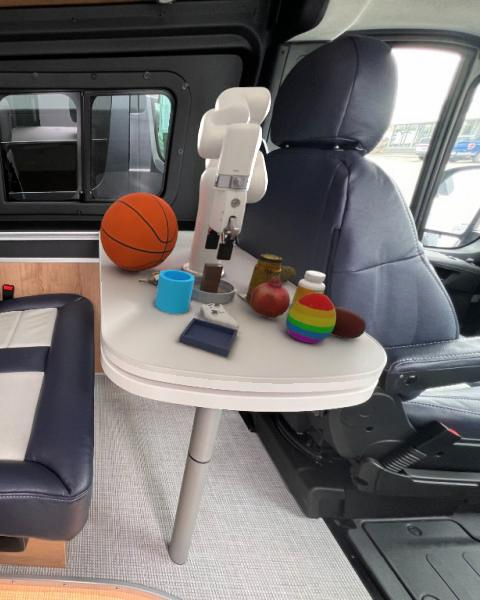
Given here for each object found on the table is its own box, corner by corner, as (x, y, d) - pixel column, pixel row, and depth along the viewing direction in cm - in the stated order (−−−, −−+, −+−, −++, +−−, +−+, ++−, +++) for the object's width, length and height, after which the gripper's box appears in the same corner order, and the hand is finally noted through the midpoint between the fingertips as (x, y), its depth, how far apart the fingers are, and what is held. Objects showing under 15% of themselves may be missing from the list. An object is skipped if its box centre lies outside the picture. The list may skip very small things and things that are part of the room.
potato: (362, 319, 70) (347, 343, 70) (318, 300, 73) (304, 323, 73) (380, 319, 63) (362, 346, 63) (330, 298, 66) (314, 323, 67)
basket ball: (78, 249, 108) (95, 179, 94) (131, 244, 120) (154, 181, 106) (120, 291, 93) (147, 215, 79) (175, 280, 106) (208, 212, 92)
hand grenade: (294, 283, 97) (262, 289, 96) (283, 270, 100) (252, 277, 100) (301, 271, 93) (268, 278, 93) (289, 259, 97) (257, 265, 96)
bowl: (190, 281, 96) (192, 272, 94) (237, 292, 89) (240, 282, 88) (176, 296, 86) (178, 286, 84) (227, 309, 79) (230, 298, 78)
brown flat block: (199, 290, 88) (204, 263, 85) (225, 292, 88) (231, 264, 85) (201, 294, 86) (207, 266, 83) (228, 295, 86) (235, 267, 83)
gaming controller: (243, 317, 67) (209, 314, 67) (239, 333, 68) (205, 330, 69) (228, 298, 76) (198, 295, 77) (224, 313, 78) (195, 310, 78)
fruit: (283, 313, 78) (296, 275, 74) (284, 328, 72) (298, 286, 67) (247, 306, 81) (257, 268, 77) (245, 319, 75) (256, 279, 71)
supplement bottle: (307, 316, 77) (321, 278, 73) (285, 307, 81) (297, 271, 77) (320, 312, 79) (334, 275, 75) (298, 303, 84) (310, 268, 80)
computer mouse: (136, 278, 96) (137, 265, 95) (185, 280, 96) (188, 267, 94) (139, 288, 90) (141, 274, 88) (192, 290, 89) (195, 276, 88)
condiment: (264, 294, 88) (276, 252, 83) (282, 308, 81) (297, 263, 75) (238, 294, 88) (249, 252, 83) (254, 308, 80) (267, 262, 75)
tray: (192, 324, 72) (193, 317, 71) (236, 337, 67) (237, 330, 67) (179, 342, 65) (180, 334, 64) (227, 357, 61) (229, 350, 60)
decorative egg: (333, 339, 67) (352, 296, 63) (317, 351, 63) (336, 306, 59) (292, 323, 73) (306, 282, 69) (274, 333, 69) (289, 291, 65)
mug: (187, 316, 75) (194, 283, 72) (152, 310, 78) (157, 278, 74) (190, 296, 86) (195, 267, 82) (159, 291, 88) (163, 263, 85)
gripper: (265, 187, 67) (245, 265, 74) (234, 181, 83) (220, 246, 90) (228, 186, 67) (212, 263, 75) (204, 180, 83) (193, 244, 90)
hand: (216, 254), depth 82 cm, fingers open, 9 cm apart
